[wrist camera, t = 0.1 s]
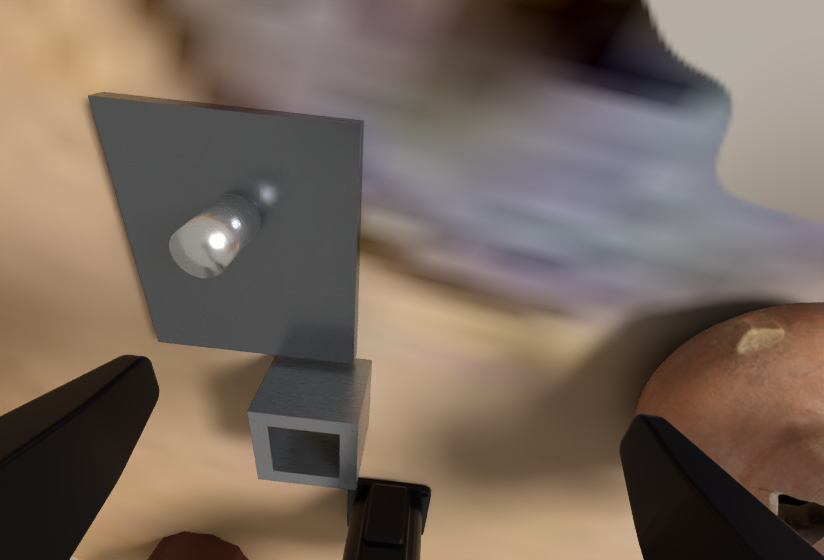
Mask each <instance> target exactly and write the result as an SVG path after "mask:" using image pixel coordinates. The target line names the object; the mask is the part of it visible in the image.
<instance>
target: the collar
mask: <svg viewBox="0 0 824 560" xmlns="http://www.w3.org/2000/svg"><path fill="white" fill-rule="evenodd" d="M371 369H372V361H370V360H362V359H355V361H354V364H350V363H341V362H332V361H323V360H314V359H306V358H297V357H288V356H279V355H276V356H275V358H274V360H273V362H272V364H271V366H270V368H269V370H268V372H267V373H266V375H265V377H264V379H263V381H262V383H261V385H260V387H259V389H258V391H257V393H256V395H255V397H254V399H253V401H252V403H251V405H250V407H249V409H248V411H247V413H248V419H249V425H250V432H251V438H252V444H253V450H254V456H255V462H256V468H257V474H258V479H263V480H271V481H280V482H289V483H297V484H306V485H314V486H323V487H332V488H340V489H349V490H356V487H357V482H358V477H359V471H360V466H361V461H362V455H363V450H364V445H365V439H366V434H367V429H368V422H369V405H370V387H371Z"/></svg>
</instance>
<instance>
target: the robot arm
mask: <svg viewBox="0 0 824 560" xmlns="http://www.w3.org/2000/svg"><path fill="white" fill-rule="evenodd" d="M158 397H159V386H158V382H157V379H156V376H155V373H154V369H153V366H152V363H151V361H150V360H149V359H148V358H147V357H144V356H135V355H123V356H120V357H118V358H116V359H114V360H112V361H110V362H108V363H106V364H104V365H102V366H100V367H98V368H96V369H94V370H92V371H90V372H88V373H86V374H84V375H82V376H80V377H78V378H76V379H74V380H72V381H70V382H68V383H66V384H64V385H62V386H60V387H58V388H56V389H54V390H52V391H50V392H48V393H46V394H44V395H42V396H40V397H38V398H36V399H34V400H32V401H30V402H28V403H26V404H24V405H22V406H20V407H18V408H16V409H14V410H12V411H10V412H8V413H6V414H4V415H2V416H0V560H70V558H71V556H72V555H73V553H74V551H75V550H76V548H77V547H78V545H79V543H80V542H81V540H82V538H83V537H84V535H85V534H86V532H87V530H88V529H89V527H90V525H91V524H92V522H93V521H94V519H95V517H96V516H97V514H98V512H99V511H100V509H101V508H102V506H103V504H104V503H105V501H106V499H107V498H108V496H109V495H110V493H111V491H112V490H113V488H114V486H115V484H116V483H117V481H118V479H119V478H120V476H121V474H122V472H123V470H124V468H125V466H126V464H127V462H128V460H129V458H130V456H131V454H132V452H133V450H134V448H135V446H136V444H137V442H138V440H139V438H140V435H141V433H142V431H143V429H144V427H145V425H146V423H147V421H148V419H149V417H150V415H151V413H152V411H153V409H154V407H155V405H156V403H157V400H158ZM620 457H621V462H622V467H623V472H624V477H625V481H626V486H627V491H628V496H629V501H630V506H631V510H632V515H633V520H634V525H635V529H636V533H637V537H638V541H639V545H640V548H641V552H642V555H643V558H644V560H824V556H823V555H822V554H821V553H820V552H819V551H818V550H816V549H815V548H814V547H813V546H812V545H811V544H809V543H808V542H807V541H806V540H805V539H804V538H802V537H801V536H800V535H799V534H798V533H797V532H796V531H794V530H793V529H792V528H791V527H790V526H789V525H787V524H786V523H785V522H784V521H783V520H782V519H781V518H779V517H778V516H777V515H776V514H775V513H774V512H772V511H771V510H770V509H769V508H768V507H767V506H765V505H764V504H763V503H762V502H761V501H760V500H759V499H757V498H756V497H755V496H754V495H753V494H752V493H750V492H749V491H748V490H747V489H746V488H745V487H744V486H742V485H741V484H740V483H739V482H738V481H737V480H735V479H734V478H733V477H732V476H731V475H730V474H728V473H727V472H726V471H725V470H724V469H723V468H722V467H720V466H719V465H718V464H717V463H716V462H715V461H713V460H712V459H711V458H710V457H709V456H708V455H707V454H705V453H704V452H703V451H702V450H701V449H700V448H698V447H697V446H696V445H695V444H694V443H693V442H691V441H690V440H689V439H688V438H687V437H686V436H685V435H683V434H682V433H681V432H680V431H679V430H678V429H676V428H675V427H674V426H673V425H672V424H671V423H670V422H668V421H667V420H666V419H665V418H663V417H661V416H658V415H651V414H642V413H640V414H637V415H636V416H634V418H633V420H632V422H631V423H630V425H629V427H628V429H627V431H626V433H625V435H624V436H623V438H622V440H621V443H620ZM430 497H431V489H430V488H429V487H426V486H417V485H409V484H400V483H391V482H383V481H374V480H365V479H358V482H357V487H356V490H349V489H348V513H347V525H348V527H349V528H348V533H347V539H346V544H345V549H344V555H343V560H420V549H421V535H423V533H424V528H425V523H426V518H427V512H428V507H429V502H430Z"/></svg>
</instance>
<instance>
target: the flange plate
mask: <svg viewBox="0 0 824 560" xmlns="http://www.w3.org/2000/svg"><path fill="white" fill-rule="evenodd" d="M88 98H89V101H90V105H91V108H92V112H93V115H94V118H95V122H96V125H97V129H98V132H99V136H100V139H101V143H102V146H103V150H104V153H105V157H106V160H107V164H108V167H109V171H110V174H111V178H112V181H113V185H114V188H115V192H116V195H117V199H118V202H119V205H120V209H121V212H122V216H123V219H124V223H125V226H126V230H127V233H128V237H129V240H130V244H131V247H132V251H133V254H134V258H135V261H136V265H137V268H138V272H139V275H140V279H141V282H142V286H143V289H144V292H145V296H146V299H147V303H148V306H149V310H150V313H151V317H152V320H153V324H154V327H155V331H156V334H157V338H158V341H159V342H165V343H174V344H183V345H192V346H201V347H209V348H218V349H227V350H236V351H244V352H253V353H262V354H271V355H279V356H288V357H297V358H306V359H314V360H323V361H332V362H341V363H350V364H354V361H355V357H356V353H357V321H358V288H359V256H360V223H361V190H362V158H363V125H364V121H361V120H352V119H343V118H334V117H325V116H316V115H307V114H298V113H289V112H280V111H271V110H261V109H252V108H243V107H234V106H225V105H216V104H207V103H198V102H189V101H180V100H171V99H161V98H152V97H143V96H134V95H125V94H116V93H107V92H102V93H97V94H92V95H88Z"/></svg>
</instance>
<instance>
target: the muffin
mask: <svg viewBox="0 0 824 560" xmlns="http://www.w3.org/2000/svg"><path fill="white" fill-rule="evenodd" d="M148 560H248V559H247V558H246V557H245V555H244V554H243V553H242V551H241V550H240V548H239V547H238V546H236V545H233V544H231V543H228V542H226V541H224V540H222V539H220V538H218V537H216V536H214V535H208V534H197V533H191V532H185V531H183V532H181V533H178V534H176V535H173V536H168V537H164V538H163V539H162V540H161V542H160V543H159V545H158V546H157V547H156V549H155V550H154V551H153V553H152V554H151V556H150V557H149V558H148Z"/></svg>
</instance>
